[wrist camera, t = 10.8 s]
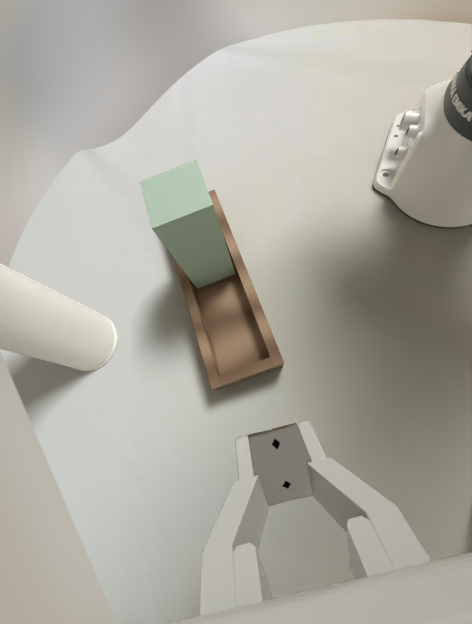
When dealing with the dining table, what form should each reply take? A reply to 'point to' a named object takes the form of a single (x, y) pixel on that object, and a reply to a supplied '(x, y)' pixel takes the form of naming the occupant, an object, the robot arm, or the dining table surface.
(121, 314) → the dining table surface
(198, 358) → the dining table surface
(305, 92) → the dining table surface
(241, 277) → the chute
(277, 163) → the dining table surface
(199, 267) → the block
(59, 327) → the spray can
